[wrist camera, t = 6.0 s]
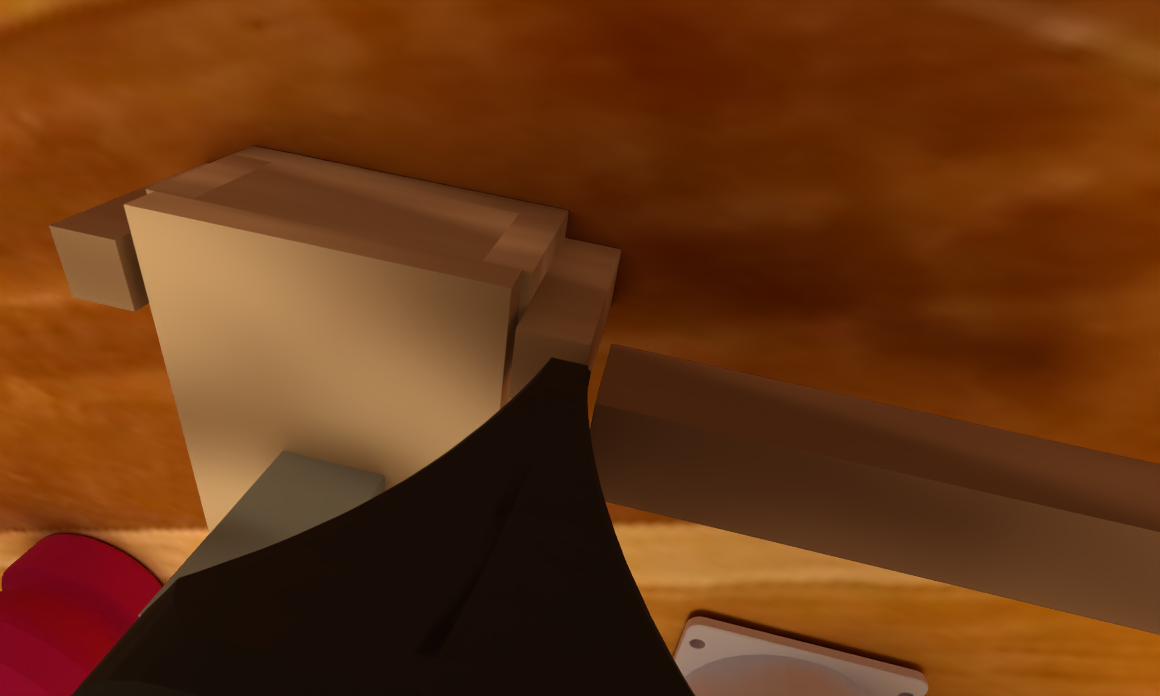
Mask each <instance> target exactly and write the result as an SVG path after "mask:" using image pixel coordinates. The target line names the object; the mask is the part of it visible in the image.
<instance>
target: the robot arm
mask: <svg viewBox="0 0 1160 696" xmlns="http://www.w3.org/2000/svg"><path fill="white" fill-rule="evenodd" d="M590 374H591V372H590V370H589V369H588V365H584V364H579V363H575V362H570V361H566V360H561V359H557V358H552V357H551V359H550V360H549V361H548V362H547V363H546V364H545V365H544V367H543V368H542V369H541V370H540V371H539V372H538V373H537V374H536V375H535V377H534V378H533V379H532V380H531V381H530V382H529V383H528V384H527V385H526V386H525V387H524V388H523V389H522V390H521V391H520V392H519V393H518V394H516V395H515V396H514V397H513V398H512V399H511V400H510V401H509V402H508V403H507V404H506V405H504V406H503V407H502V408H501V409H500V410H499V411H498V412H497V413H495V414H494V415H493V416H492V417H491V418H490V419H489V420H487V421H486V422H485V423H484V424H483V425H481V426H480V427H479V428H477V429H476V430H475V431H474V432H472V433H471V434H470V435H468V436H467V437H466V438H465V439H463V440H462V441H461V442H459V443H458V444H457V445H456V446H454V447H453V448H452V449H450V450H449V451H447V452H446V453H445V454H443V455H442V456H440V457H439V458H438V459H436V460H435V461H433V462H432V463H430V464H429V465H427V466H426V467H424V468H422V469H421V470H419V471H418V472H416V473H415V474H413V475H411V476H410V477H408V478H407V479H405V480H403V481H402V482H400V483H398V484H397V485H395V486H393V487H391V488H389V489H388V490H386V491H384V492H382V493H381V494H379V495H377V496H375V497H374V498H372V499H370V500H368V501H366V502H364V503H363V504H361V505H359V506H357V507H355V508H353V509H351V510H349V511H347V512H345V513H343V514H341V515H339V516H337V517H334V518H332V519H330V520H328V521H326V522H323V523H321V524H319V525H317V526H315V527H312V528H310V529H308V530H306V531H304V532H301V533H299V534H297V535H295V536H292V537H290V538H288V539H285V540H283V541H280V542H278V543H275V544H273V545H270V546H268V547H265V548H263V549H260V550H257V551H254V552H252V553H249V554H246V555H243V556H240V557H238V558H235V559H232V560H229V561H226V562H224V563H221V564H218V565H215V566H212V567H210V568H207V569H204V570H201V571H198V572H195V573H192V574H189V575H186V576H183V577H180V578H178V579H177V580H176V581H175V582H174V583H173V584H172V585H171V586H170V587H169V588H168V589H167V590H166V591H165V592H164V593H163V594H162V595H161V596H160V597H159V598H158V599H157V600H156V601H155V602H154V603H152V604H151V605H150V606H149V607H148V608H147V609H146V610H145V611H144V613H143V614H142V615H141V616H140V617H139V618H138V619H137V620H136V621H135V622H134V624H133V625H132V626H131V627H130V628H129V629H128V630H127V631H126V633H125V634H124V635H123V636H122V637H121V638H120V639H119V641H118V642H117V643H116V644H115V645H114V646H113V648H112V649H111V650H110V651H109V652H108V653H107V654H106V656H105V657H104V658H103V659H102V660H101V661H100V663H99V664H98V665H97V666H96V667H95V668H94V669H93V671H92V672H91V673H90V674H89V675H88V676H87V677H86V679H85V680H84V681H83V682H82V683H81V684H80V686H79V687H78V688H77V689H76V690H75V691H74V692H73V694H72V695H71V696H924V695H925V694H926V693H927V691H928V689H929V687H928V684H927V681H926V677H925V675H923V674H922V673H921V672H919V671H916V670H913V669H909V668H905V667H901V666H897V665H893V664H889V663H885V662H881V661H877V660H873V659H869V658H865V657H861V656H857V655H853V654H849V653H845V652H841V651H837V650H833V649H829V648H825V647H821V646H817V645H813V644H809V643H805V642H802V641H798V640H794V639H790V638H786V637H782V636H778V635H774V634H770V633H766V632H762V631H758V630H754V629H750V628H746V627H742V626H738V625H734V624H730V623H726V622H722V621H718V620H714V619H710V618H706V617H700V616H698V617H693V618H691V619H689V620H688V621H687V623H686V625H685V628H684V630H683V633H682V636H681V638H680V641H679V643H678V646H677V648H676V651H675V653H674V656H673V657H672V655H671V654H670V652H669V650H668V648H667V646H666V644H665V642H664V640H663V638H662V637H661V635H660V633H659V631H658V629H657V627H656V625H655V623H654V621H653V619H652V617H651V616H650V613H649V611H648V609H647V607H646V605H645V602H644V600H643V598H642V596H641V594H640V591H639V589H638V587H637V585H636V583H635V580H634V578H633V576H632V574H631V572H630V569H629V567H628V565H627V563H626V560H625V557H624V555H623V552H622V550H621V547H620V544H619V542H618V539H617V536H616V534H615V531H614V528H613V525H612V522H611V519H610V516H609V513H608V509H607V506H606V503H605V499H604V496H603V492H602V488H601V484H600V480H599V476H598V472H597V468H596V463H595V458H594V453H593V447H592V441H591V434H590V427H589V419H588V403H587V390H588V385H589V379H590Z"/></svg>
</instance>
